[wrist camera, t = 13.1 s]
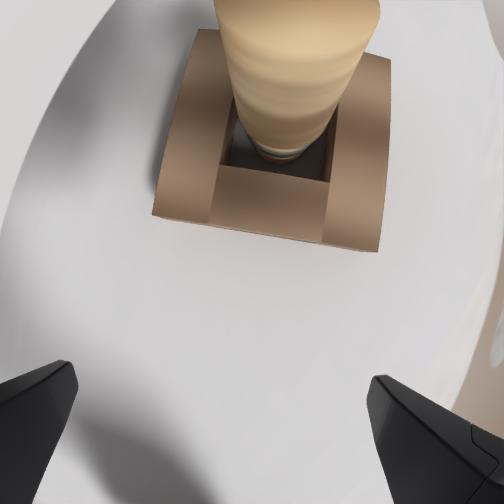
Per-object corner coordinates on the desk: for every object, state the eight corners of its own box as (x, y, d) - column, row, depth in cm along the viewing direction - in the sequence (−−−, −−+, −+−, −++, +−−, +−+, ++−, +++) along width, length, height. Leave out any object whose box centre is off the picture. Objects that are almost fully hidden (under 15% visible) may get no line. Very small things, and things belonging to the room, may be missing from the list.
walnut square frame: (361, 251, 19) (377, 252, 16) (167, 219, 19) (151, 214, 16) (376, 80, 19) (390, 59, 16) (206, 53, 19) (198, 29, 16)
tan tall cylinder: (321, 167, 19) (404, 50, 6) (250, 179, 19) (226, 64, 6) (305, 104, 19) (347, -50, 6) (238, 114, 19) (204, -41, 6)
